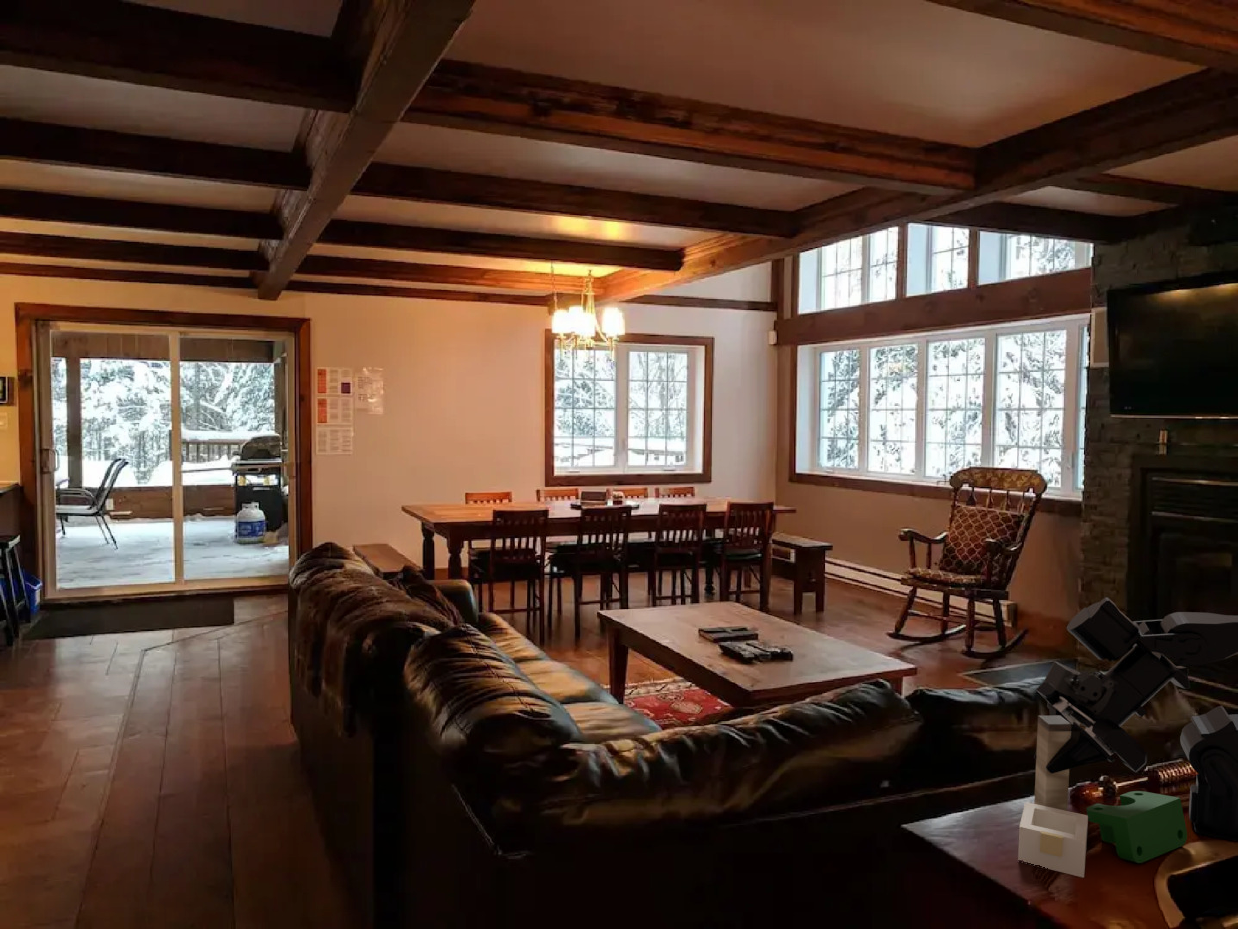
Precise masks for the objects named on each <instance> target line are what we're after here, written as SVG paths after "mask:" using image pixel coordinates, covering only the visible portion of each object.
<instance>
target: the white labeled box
mask: <svg viewBox="0 0 1238 929" xmlns="http://www.w3.org/2000/svg"><path fill="white" fill-rule="evenodd" d="M1088 822H1089V820H1088V815H1087V814H1082V813H1078V812H1073V811H1069V810H1067V811H1065V810H1060V809H1056V808H1051V807H1046V806H1042V805H1037V804H1034V803H1032V802H1027V801H1025V802H1024V806H1023V810H1022V814H1021V819H1020V823H1019V826H1018V827H1019V832H1018V851H1017V852H1018V854H1017V861H1018V860H1023V861H1024V862H1028V863H1031V864H1034V865H1033V866H1035V865H1040V866H1042V867H1041V868H1043V867H1045V868H1044V869H1047V868H1048V869H1047V870H1051V871H1054V872H1059V873H1064V874H1066V875H1072V876H1075V877H1079V878H1085V870H1086V869H1085V868H1086V859H1087V858H1086V856H1087V843H1088V842H1087V841H1088V840H1087V839H1088V825H1089V823H1088ZM1031 864H1030V865H1031Z"/></svg>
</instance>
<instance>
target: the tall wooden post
mask: <svg viewBox="0 0 1238 929" xmlns="http://www.w3.org/2000/svg"><path fill="white" fill-rule="evenodd" d="M1070 738H1071V723H1069V722H1068V721H1067V720H1065V719H1064V718H1063V717H1061V716H1060V715H1053V716H1050V715H1037V735H1036V750H1037V754H1036V755H1037V756H1036V759H1035V775H1034V776H1035V779H1034V780H1035V782H1034V784H1035V785H1034V800H1033V802H1034V803H1033V804H1037V805H1042V806H1046V807H1051V808H1056V809H1060V810H1065V811H1068V803H1069V784H1070V783H1069V781H1070V780H1069V779H1070V769H1067V770H1063V771H1060V772H1056V773H1050V772H1049V771H1048V770H1047V769H1046V766H1047V764H1048V763H1049V762H1050V760H1051V759H1052V758H1053V757H1054V756H1055V754H1056V753H1057V752H1058V751H1059V750H1060V749H1061V748H1062V747H1063V746H1064V745H1065V743H1066V742H1067V741H1068V740H1069V739H1070Z"/></svg>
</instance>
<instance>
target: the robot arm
mask: <svg viewBox="0 0 1238 929" xmlns="http://www.w3.org/2000/svg"><path fill="white" fill-rule="evenodd" d="M1066 630H1067V631H1068V632H1069V633H1070V634H1071V635H1073V636H1074V637H1075V638H1076V639H1077V640H1078V641H1079V642H1080V643H1081V644H1082V645H1083V646H1084V647H1085V648H1087V650H1088V651H1089V652H1091V653H1092V654H1093V655H1094V656H1095V657H1096V658H1097V659H1098V660H1100V661H1104V660H1107V661H1108V662H1111V661H1112V662H1115V661H1118V660H1119V661H1118V662H1117V663H1115V664H1114V665H1113V666H1112V667H1111V668H1110V669H1109V670H1108V671H1107V672H1105V674H1104V673H1102V672H1101V671H1100V670H1097V671H1094V672H1092V673H1090V672H1088V671H1087V670H1084V671H1082V672H1079V671H1078V670H1075V669H1073V668H1071V667H1069V666H1067V665H1064V664H1062V663H1061V662H1059V661H1053V662H1052V664H1051V667H1050V668H1049V670H1048V672H1047V674H1046V676H1045V678H1044V680H1043V682H1042V683H1041V684H1040V685H1039V686H1038V687H1036V689H1035V690H1036V692H1038V694H1040V696H1041V697H1042V698H1043V699H1045V701H1047V705H1046V706H1047V708H1048V709H1049V710H1048V711H1049V716H1053V715H1060V716H1061V717H1063V718H1064V719H1065V720H1067V721H1068V722H1069V723H1071V738H1070V739H1069V740H1068V741H1067V742H1066V743H1065V745H1064V746H1063V747H1062V748H1061V749H1060V750H1059V751H1058V752H1057V753H1056V754H1055V756H1054V757H1053V758H1052V759H1051V760H1050V762H1049V763H1048V764H1047V766H1046V769H1047V770H1048V771H1049V772H1050V773H1056V772H1060V771H1063V770H1067V769H1069V770H1071V769H1075V768H1077V767H1082V766H1086V765H1092V764H1096V763H1097V764H1098V763H1101V762H1106V761H1109V762H1110V763H1113V762H1114V761H1115V759H1114V757H1113V756H1112V755H1113V754H1116V755H1117V756H1118V757H1119V758H1120V761H1121V763H1123V764H1124V765H1125V766H1126V767H1127V768H1129V769H1130V770H1131V771H1133V772H1134V773H1138V771H1140V770H1141V769H1142V768H1143V767H1144V766H1146V764H1147V762H1148V752H1147V751H1146V750H1145V749H1144V748H1143V747H1142V746H1141V745H1140V744H1139V743H1138V741H1136V740H1135V739H1134V738H1133V737H1132V736H1131V734H1129V733H1128V732H1127V731H1126V730H1125V728H1123V727H1122V725H1124V724H1125V723H1126V722H1127V721H1128V720H1129V719H1130V718H1132V716H1134V715H1135V714H1136V716H1138V717H1140V718H1143V717H1144V716H1145V715H1146V714H1147V713H1148V712H1147V711H1146V710H1145V708H1144V707H1143V706H1144V705H1145V704H1146V703H1148V701H1150V699H1152V698H1153V697H1154V696H1155V695H1156V694H1157V693H1159V691H1160V690H1162V688H1164V687H1165V686H1166V685H1167V684H1168V683H1169V682H1171V683H1172V684H1173V685H1174V686H1176V687H1179V688H1182V689H1185V690H1188V689H1190V688H1191V684H1190V680H1189V670H1190V669H1189V668H1188V667H1200V666H1204V665H1208V664H1211V663H1216V662H1219V661H1223V660H1224V661H1225V660H1226V659H1229V658H1230V657H1232V656H1235V655H1237V654H1238V615H1231V614H1229V615H1228V614H1227V615H1226V614H1219V613H1211V612H1200V611H1199V612H1195V611H1193V612H1191V611H1187V612H1186V611H1181V612H1180V611H1178V612H1177V611H1176V612H1172V613H1169V614H1167V615H1165V616H1164V618H1163V619H1162V618H1161V619H1148V620H1135V621H1132V620H1131V619H1130V618H1129V617H1128V616H1126V614H1124V613H1123V611H1121V610H1120V609H1119V608H1118V607H1117V605H1116V604H1115V602H1114V601H1112V599H1110V598H1109V597H1107V596H1105V597H1104V598H1103V599H1101V600H1100V601H1098V602H1097V601H1096V602H1095V603H1092V604H1091V605H1089V606H1088V607H1083V608H1082V609H1081V610H1080V611H1079V612H1077V613H1076V615H1075V616H1073V618H1072V619H1070V621H1069V623H1068V624H1067V626H1066ZM1165 655H1166V656H1169V657H1170V658H1171V659H1169V658H1168V657H1166V656H1165ZM1171 660H1173V661H1175V662H1176V663H1178V664H1180V665H1178V666H1177V665H1175V664H1174V663H1173V662H1172V661H1171ZM1190 719H1191V722H1188V723H1187V724H1186V725H1184V727H1182V729H1181V733H1180V737H1179V740H1180V742H1179V743H1180V745H1181V746H1180V747H1182V750H1183V751H1184V753H1185V756H1186V757H1187V760H1188V761H1189V764H1190V765H1191V768H1192V769H1193V770H1194V772H1196V773H1197V774H1196V780H1195V784H1191V785H1190V788H1189V789H1190V791H1189V803H1188V804H1189V805H1188V806H1189V807H1188V815H1189V816H1188V817H1189V821H1190V822H1191V823H1193V827H1194V833H1197V834H1199V835H1204V836H1209V837H1213V838H1218V839H1222V840H1228V841H1233V842H1237V843H1238V713H1237V714H1236V713H1235V714H1228V712H1227V711H1226V709H1225V708H1224V705H1219V706H1217V707H1214V708H1212V709H1210V710H1209V711H1207V712H1206V713H1202V714H1201V715H1191V716H1190ZM1081 725H1082V726H1084V727H1085V728H1083V727H1082V726H1081ZM1036 754H1037V749H1036V750H1035V752H1034V754H1033V758H1034V759H1035V760H1036V756H1037V755H1036Z"/></svg>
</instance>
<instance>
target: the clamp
mask: <svg viewBox="0 0 1238 929" xmlns="http://www.w3.org/2000/svg"><path fill="white" fill-rule="evenodd" d="M1119 798H1120V799H1119V801H1120V805H1106V804H1102V803H1095V804H1093V805H1089V806H1087V807H1086V810H1085V811H1086V815H1088V822H1091V823H1095V824H1098V826H1099V832H1100V837H1101V838H1100V839H1101V840H1102V841H1103V842H1105V843H1109V844H1114V845H1115V849H1116V854H1117V855H1118V857H1119V858H1120V859H1121V860H1126V861H1129V862H1133V863H1137V864H1142V863H1145V862H1147V861H1149V860H1152V859H1154V858H1157V857H1159V856H1161V855H1163V854H1166V853H1169V852H1171V851H1173V850H1175V849H1178V848H1180V847H1182V846H1184V845H1185V844H1186V843H1187V840H1188V830H1187V826H1186V820H1185V815H1184V811H1183V810H1184V809H1183V805H1182V801H1181V800H1182V799H1181V797H1177V796H1173V795H1172V796H1171V795H1166V794H1161V793H1160V794H1159V793H1154V792H1149V791H1141V790H1133V791H1128V792H1126V793H1123V794H1120V795H1119Z"/></svg>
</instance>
